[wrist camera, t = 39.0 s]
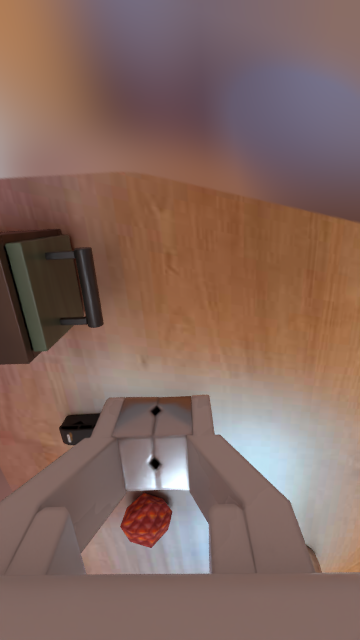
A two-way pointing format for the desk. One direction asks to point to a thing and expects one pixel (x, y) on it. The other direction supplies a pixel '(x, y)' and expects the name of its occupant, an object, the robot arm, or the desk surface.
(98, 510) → the robot arm
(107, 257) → the desk surface
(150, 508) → the decorative stone
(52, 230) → the cabinet
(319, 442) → the desk surface
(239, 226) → the desk surface
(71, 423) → the black stapler
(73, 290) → the drawer
